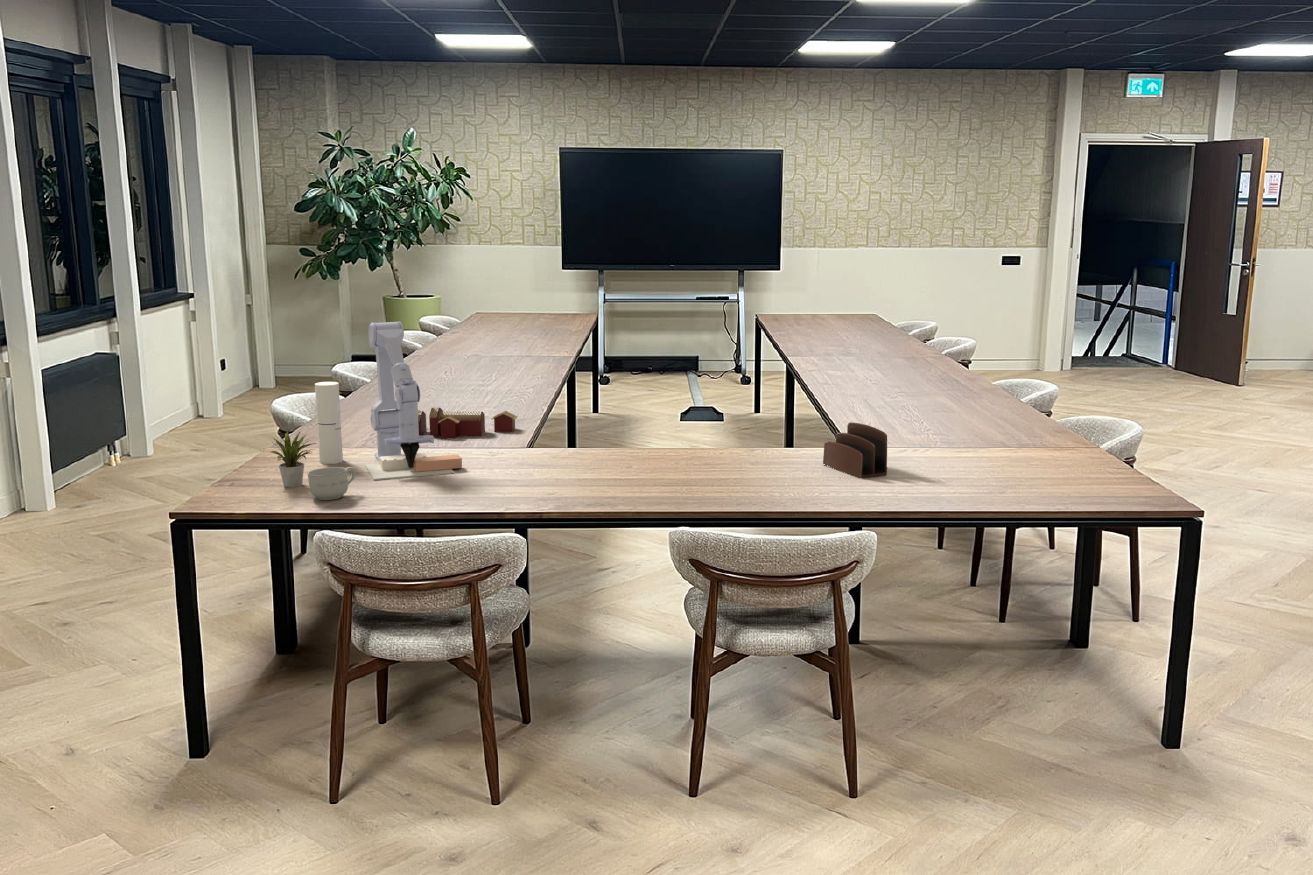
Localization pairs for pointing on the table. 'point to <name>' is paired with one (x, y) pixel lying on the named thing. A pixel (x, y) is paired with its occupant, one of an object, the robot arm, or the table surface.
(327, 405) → the cylindrical container
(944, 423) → the table surface
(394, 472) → the mat
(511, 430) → the toy houses
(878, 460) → the letter holder
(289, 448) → the house plant
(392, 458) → the ticket book
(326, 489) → the teacup
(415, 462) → the stub
